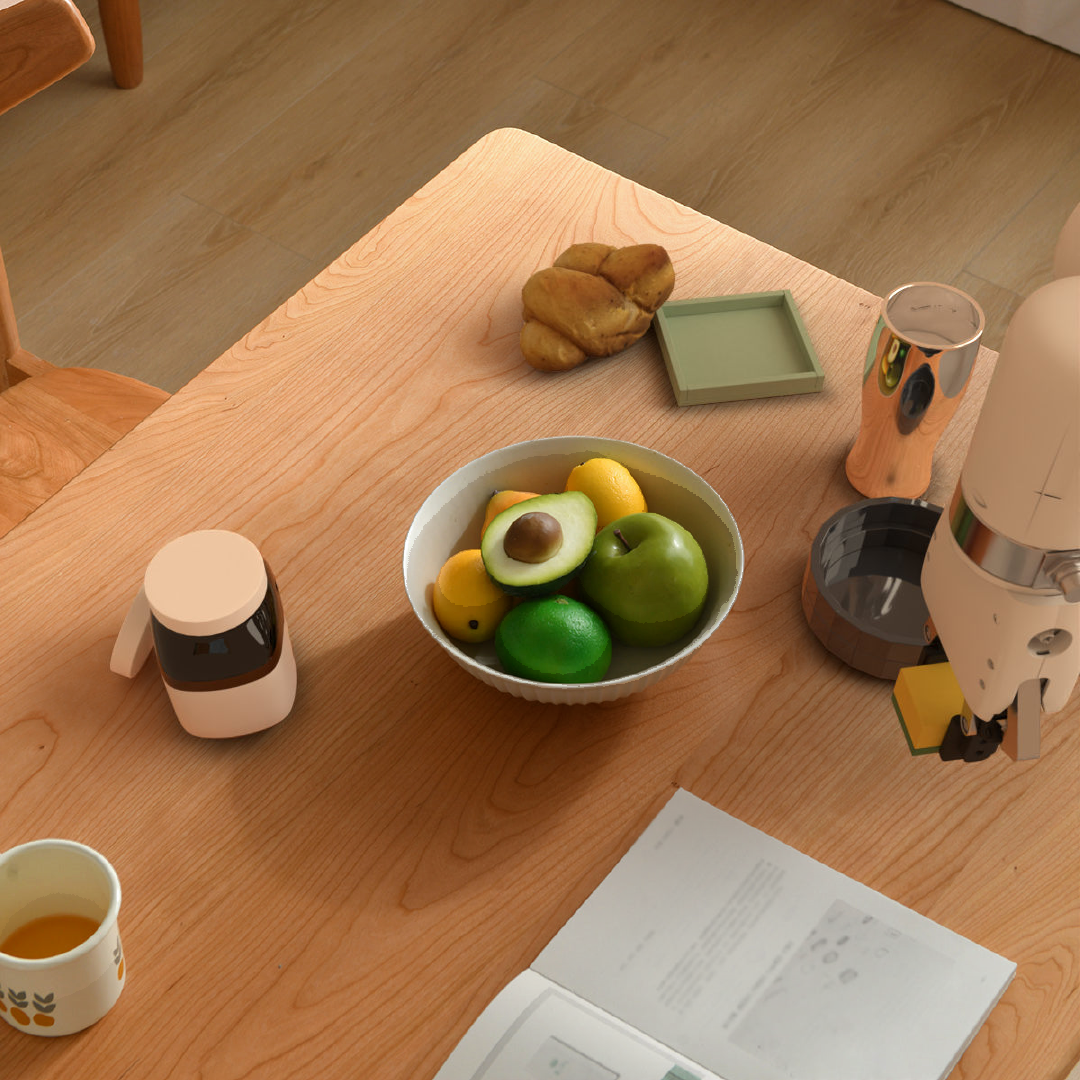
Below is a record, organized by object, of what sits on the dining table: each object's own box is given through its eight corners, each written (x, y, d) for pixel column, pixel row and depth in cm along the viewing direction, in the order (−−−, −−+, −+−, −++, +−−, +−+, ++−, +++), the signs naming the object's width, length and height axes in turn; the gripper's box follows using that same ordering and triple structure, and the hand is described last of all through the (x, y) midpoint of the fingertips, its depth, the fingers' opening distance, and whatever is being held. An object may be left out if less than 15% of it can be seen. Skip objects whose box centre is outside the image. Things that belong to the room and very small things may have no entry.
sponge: (988, 684, 80) (1001, 653, 78) (1013, 742, 78) (1027, 712, 75) (890, 698, 80) (900, 667, 77) (911, 756, 77) (922, 727, 75)
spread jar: (306, 744, 84) (278, 633, 75) (119, 776, 82) (68, 667, 73) (290, 592, 91) (262, 475, 82) (118, 620, 90) (72, 504, 81)
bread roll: (555, 403, 103) (556, 323, 97) (480, 335, 108) (476, 254, 102) (682, 333, 108) (691, 253, 102) (604, 272, 113) (608, 191, 107)
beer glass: (830, 495, 97) (869, 336, 85) (848, 429, 101) (887, 269, 89) (928, 519, 95) (981, 360, 84) (942, 451, 100) (994, 291, 88)
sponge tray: (786, 305, 110) (789, 288, 109) (821, 391, 104) (825, 375, 102) (651, 318, 109) (652, 302, 108) (678, 407, 103) (680, 390, 101)
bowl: (949, 530, 95) (965, 487, 91) (1014, 674, 87) (1033, 632, 83) (780, 550, 94) (789, 507, 90) (829, 697, 86) (841, 656, 82)
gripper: (1187, 647, 59) (1070, 839, 74) (1042, 383, 70) (964, 596, 84) (1022, 670, 59) (936, 860, 73) (901, 400, 69) (846, 612, 83)
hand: (952, 716), depth 78 cm, fingers closed on sponge, 4 cm apart
